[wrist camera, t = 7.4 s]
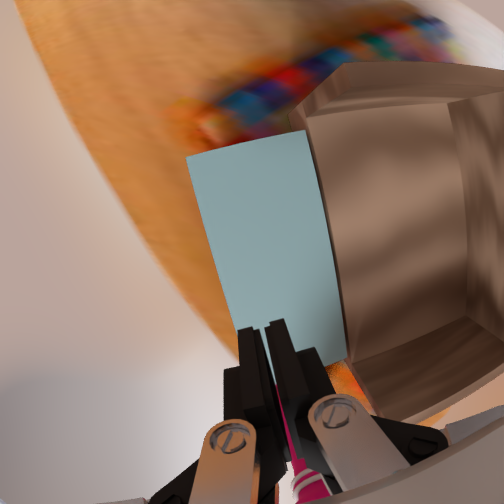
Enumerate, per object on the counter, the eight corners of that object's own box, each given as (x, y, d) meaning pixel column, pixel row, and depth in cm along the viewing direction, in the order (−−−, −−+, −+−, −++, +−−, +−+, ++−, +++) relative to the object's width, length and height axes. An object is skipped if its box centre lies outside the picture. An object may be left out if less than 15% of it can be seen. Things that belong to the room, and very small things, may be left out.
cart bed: (287, 115, 23) (343, 62, 11) (421, 99, 24) (518, 73, 11) (335, 345, 29) (389, 436, 16) (446, 303, 29) (522, 357, 17)
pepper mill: (279, 420, 31) (315, 576, 12) (247, 382, 29) (270, 567, 10) (336, 392, 31) (407, 541, 11) (310, 349, 29) (390, 526, 10)
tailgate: (295, 134, 21) (186, 159, 20) (304, 129, 19) (185, 157, 18) (338, 347, 26) (251, 377, 25) (347, 357, 24) (255, 390, 23)
